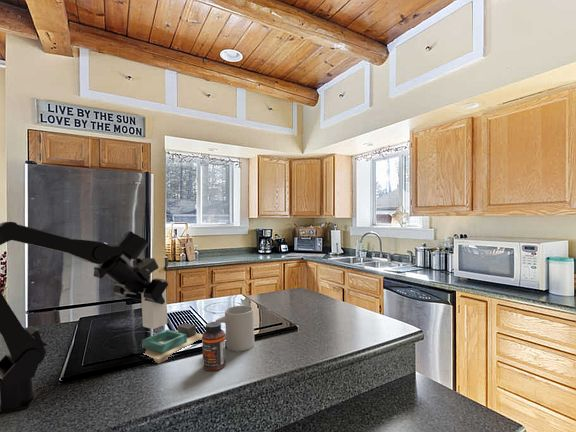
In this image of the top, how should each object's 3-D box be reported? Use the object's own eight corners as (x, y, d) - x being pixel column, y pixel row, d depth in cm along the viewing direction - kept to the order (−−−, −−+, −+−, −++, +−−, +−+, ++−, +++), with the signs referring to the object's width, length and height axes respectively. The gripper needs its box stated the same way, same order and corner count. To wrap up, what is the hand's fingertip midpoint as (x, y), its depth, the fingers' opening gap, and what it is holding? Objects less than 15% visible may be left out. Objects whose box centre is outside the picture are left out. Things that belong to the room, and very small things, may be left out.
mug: (250, 337, 103) (248, 303, 102) (258, 348, 95) (256, 311, 95) (212, 345, 98) (210, 309, 98) (217, 356, 90) (215, 318, 90)
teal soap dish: (159, 363, 87) (158, 348, 87) (130, 353, 94) (129, 339, 94) (207, 339, 103) (206, 326, 103) (179, 332, 109) (179, 320, 109)
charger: (153, 329, 95) (151, 287, 95) (142, 326, 97) (140, 285, 97) (167, 323, 99) (165, 283, 99) (156, 321, 102) (155, 282, 101)
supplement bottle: (199, 371, 82) (197, 327, 82) (208, 360, 88) (206, 319, 88) (221, 372, 81) (219, 328, 81) (229, 361, 87) (227, 320, 87)
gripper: (161, 251, 90) (192, 282, 99) (121, 249, 99) (153, 277, 109) (136, 285, 83) (173, 315, 93) (96, 280, 92) (133, 307, 102)
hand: (158, 301), depth 99 cm, fingers closed on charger, 5 cm apart
